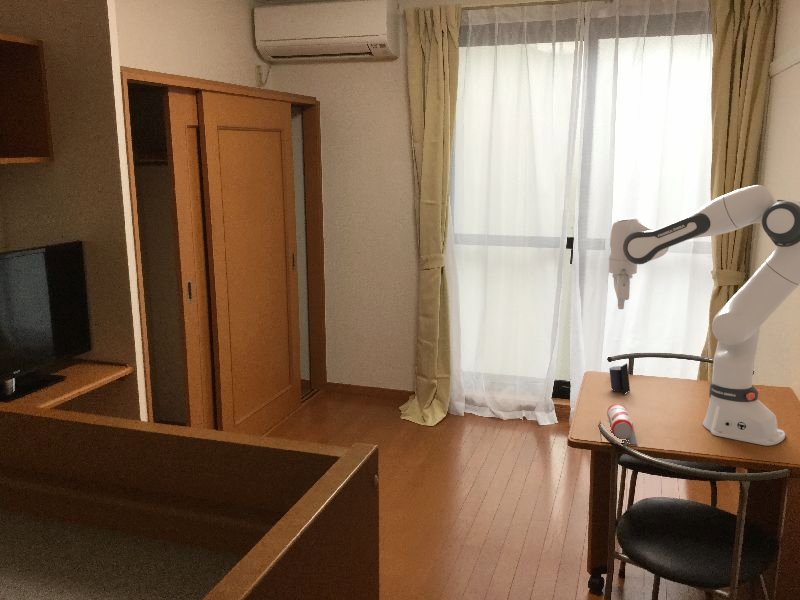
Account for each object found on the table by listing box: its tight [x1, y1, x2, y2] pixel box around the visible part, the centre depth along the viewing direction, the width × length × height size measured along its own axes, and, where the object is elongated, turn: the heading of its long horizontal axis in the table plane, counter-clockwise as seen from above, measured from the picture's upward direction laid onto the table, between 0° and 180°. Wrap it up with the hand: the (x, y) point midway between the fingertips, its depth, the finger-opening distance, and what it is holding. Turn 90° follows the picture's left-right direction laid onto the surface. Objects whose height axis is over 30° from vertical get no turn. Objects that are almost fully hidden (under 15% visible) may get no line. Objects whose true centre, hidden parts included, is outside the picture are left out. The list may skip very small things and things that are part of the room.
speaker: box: [609, 362, 631, 395], centre depth 248 cm, size 8×6×10 cm
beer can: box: [606, 403, 634, 439], centre depth 210 cm, size 6×6×16 cm
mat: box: [610, 422, 638, 446], centre depth 210 cm, size 17×10×1 cm, turn 166°
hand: (620, 308), depth 230 cm, fingers closed
